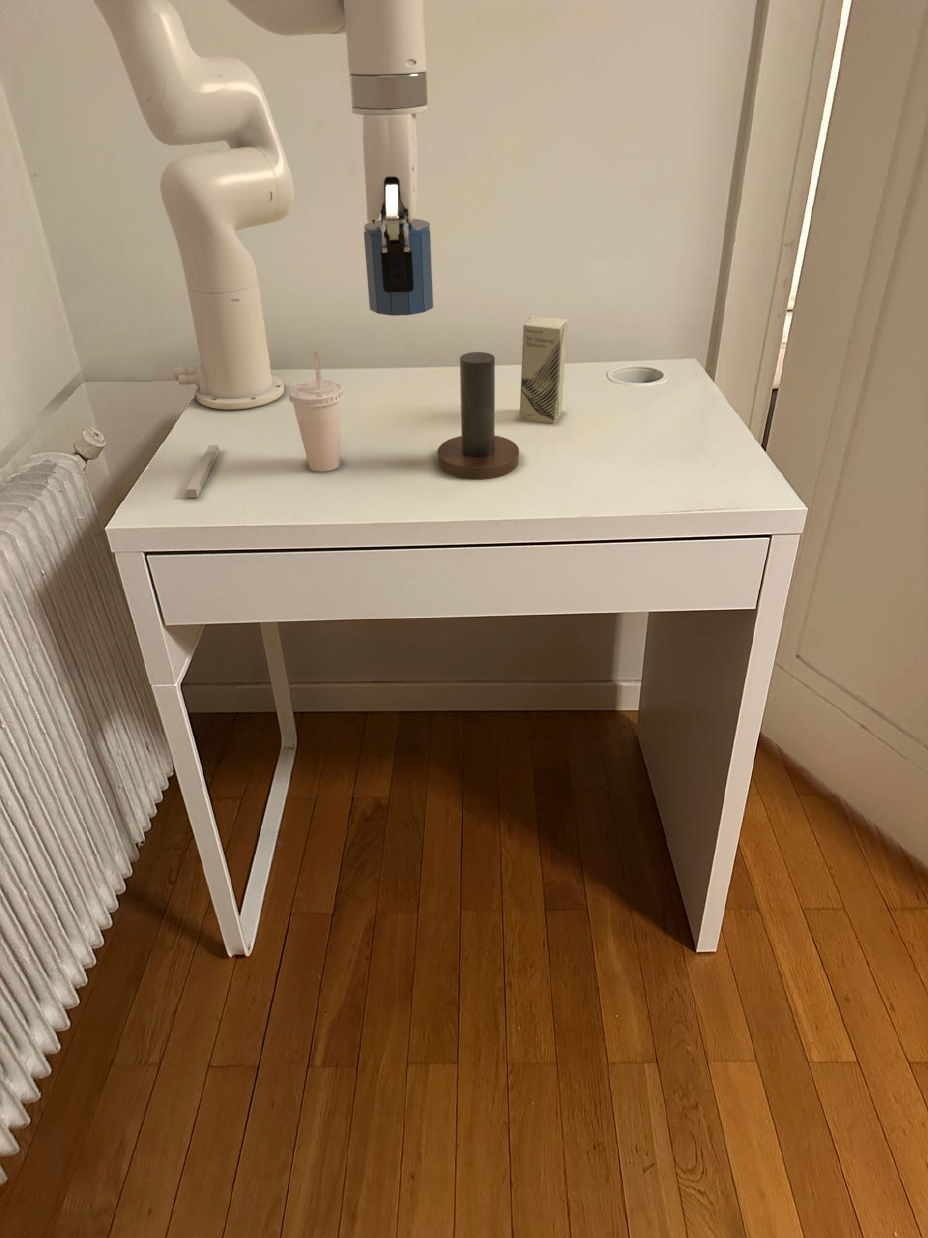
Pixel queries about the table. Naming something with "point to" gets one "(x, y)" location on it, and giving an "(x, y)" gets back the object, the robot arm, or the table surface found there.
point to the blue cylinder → (422, 272)
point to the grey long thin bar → (202, 471)
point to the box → (543, 368)
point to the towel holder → (478, 426)
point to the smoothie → (319, 419)
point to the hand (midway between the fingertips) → (400, 280)
